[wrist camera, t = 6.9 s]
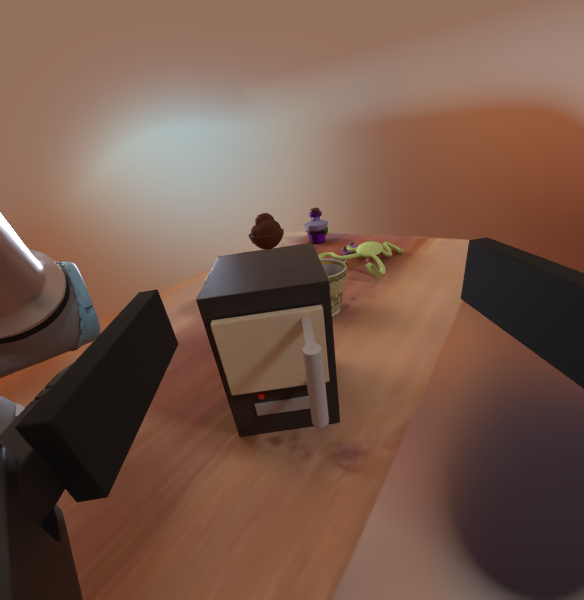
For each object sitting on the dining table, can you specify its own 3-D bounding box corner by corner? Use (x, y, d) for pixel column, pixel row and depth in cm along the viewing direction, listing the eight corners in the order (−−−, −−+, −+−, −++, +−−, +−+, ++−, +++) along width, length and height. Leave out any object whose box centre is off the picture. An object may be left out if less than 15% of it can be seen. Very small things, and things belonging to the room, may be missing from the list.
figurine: (309, 278, 78) (307, 259, 76) (350, 247, 97) (349, 230, 94) (376, 288, 68) (376, 266, 66) (407, 251, 87) (408, 232, 84)
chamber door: (341, 426, 27) (335, 345, 23) (224, 443, 27) (195, 365, 23) (328, 376, 33) (321, 304, 29) (232, 389, 33) (211, 320, 29)
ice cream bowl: (248, 263, 96) (238, 217, 89) (273, 252, 102) (266, 209, 95) (267, 269, 89) (258, 220, 82) (294, 257, 95) (287, 211, 88)
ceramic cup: (325, 329, 56) (321, 282, 51) (292, 313, 63) (286, 270, 59) (367, 302, 63) (366, 259, 58) (332, 290, 70) (330, 251, 65)
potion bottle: (330, 243, 103) (328, 208, 98) (306, 246, 104) (303, 212, 98) (327, 236, 111) (325, 204, 106) (305, 239, 111) (301, 207, 106)
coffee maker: (340, 425, 37) (330, 282, 27) (239, 440, 37) (194, 302, 27) (323, 358, 49) (312, 242, 39) (247, 369, 49) (217, 256, 39)
